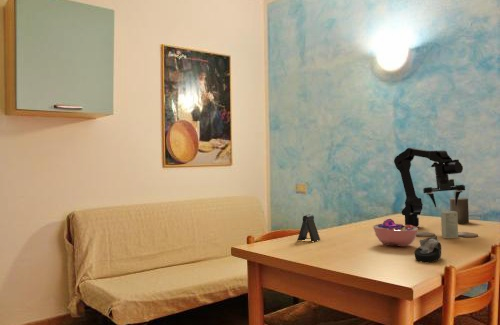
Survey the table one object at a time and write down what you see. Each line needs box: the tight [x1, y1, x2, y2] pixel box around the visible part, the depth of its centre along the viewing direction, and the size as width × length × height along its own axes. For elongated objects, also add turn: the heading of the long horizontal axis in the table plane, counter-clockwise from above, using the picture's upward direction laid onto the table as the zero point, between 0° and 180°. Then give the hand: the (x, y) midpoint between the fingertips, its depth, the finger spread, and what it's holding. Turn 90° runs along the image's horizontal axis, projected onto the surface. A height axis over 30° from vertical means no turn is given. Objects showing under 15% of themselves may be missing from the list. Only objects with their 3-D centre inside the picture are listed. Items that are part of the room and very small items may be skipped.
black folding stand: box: [297, 213, 321, 242], centre depth 202 cm, size 9×6×12 cm, turn 55°
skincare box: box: [440, 210, 459, 239], centre depth 201 cm, size 6×4×12 cm
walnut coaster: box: [458, 231, 479, 239], centre depth 205 cm, size 11×11×1 cm
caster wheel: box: [413, 235, 442, 263], centre depth 160 cm, size 7×12×10 cm
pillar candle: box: [448, 197, 470, 225], centre depth 243 cm, size 10×10×15 cm
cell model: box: [372, 218, 419, 247], centre depth 186 cm, size 17×20×11 cm
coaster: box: [416, 231, 436, 238], centre depth 209 cm, size 11×11×1 cm
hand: (445, 206), depth 214 cm, fingers open, 9 cm apart
